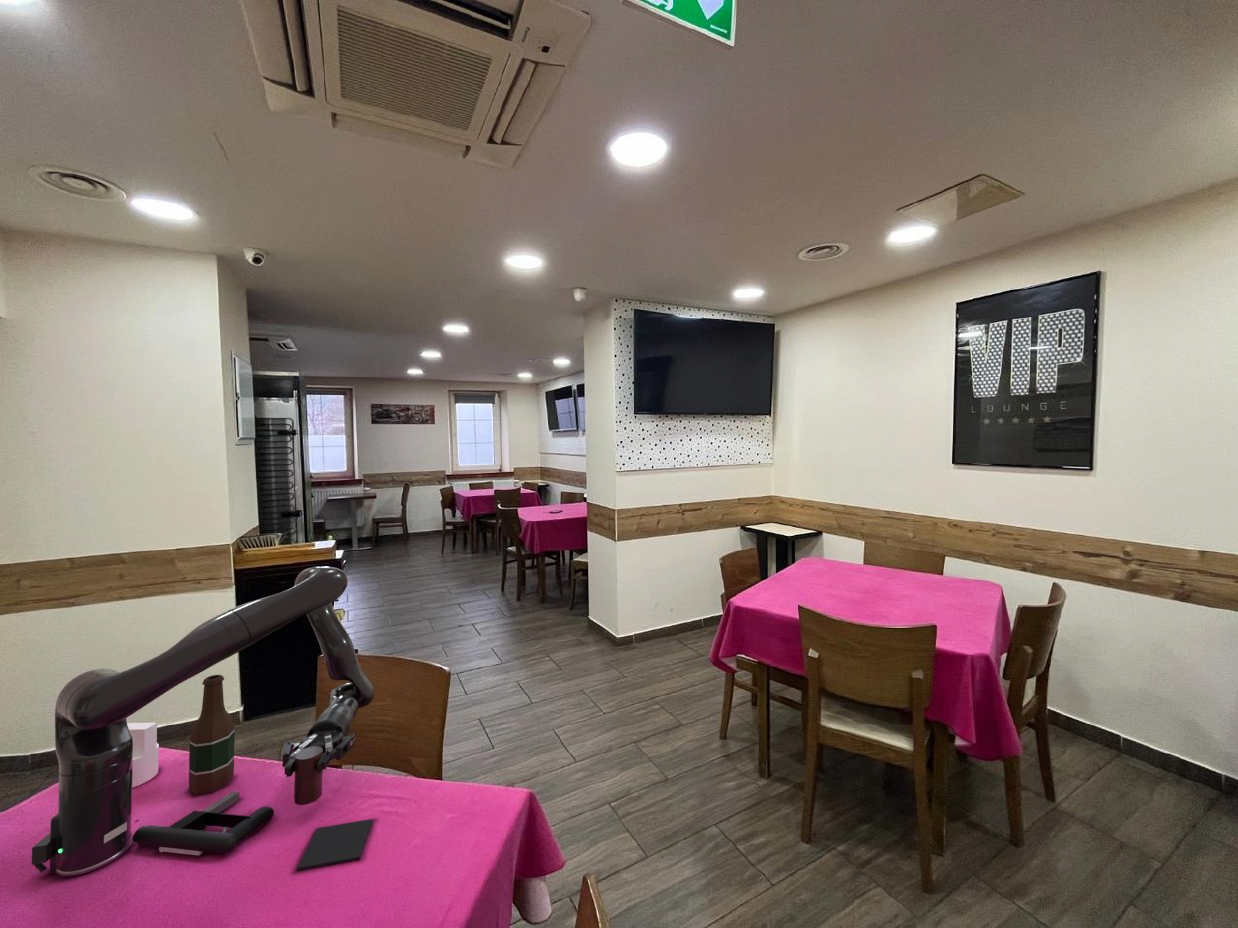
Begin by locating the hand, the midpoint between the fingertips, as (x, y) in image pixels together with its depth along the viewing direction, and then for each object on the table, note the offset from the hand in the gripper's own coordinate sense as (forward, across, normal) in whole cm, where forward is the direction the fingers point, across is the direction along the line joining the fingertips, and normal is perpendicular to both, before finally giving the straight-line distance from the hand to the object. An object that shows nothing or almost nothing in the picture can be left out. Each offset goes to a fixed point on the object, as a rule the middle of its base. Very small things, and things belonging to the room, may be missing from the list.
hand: (304, 769), depth 97 cm
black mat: (+7, +8, +11) cm, 15 cm away
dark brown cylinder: (-3, 0, +7) cm, 7 cm away
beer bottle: (-20, -25, +11) cm, 34 cm away
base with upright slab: (-27, -44, +11) cm, 53 cm away
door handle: (-4, -17, +11) cm, 21 cm away
